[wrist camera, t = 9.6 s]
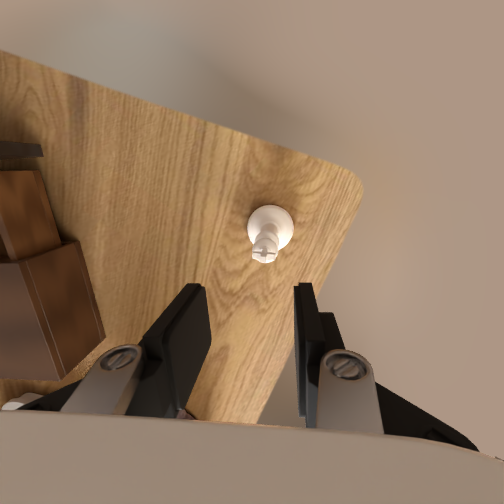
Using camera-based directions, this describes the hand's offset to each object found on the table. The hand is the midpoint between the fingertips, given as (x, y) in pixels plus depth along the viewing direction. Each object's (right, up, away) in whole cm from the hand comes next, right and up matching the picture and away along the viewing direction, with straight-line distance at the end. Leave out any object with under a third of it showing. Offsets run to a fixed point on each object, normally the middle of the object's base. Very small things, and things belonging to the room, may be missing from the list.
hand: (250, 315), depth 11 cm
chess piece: (+2, +5, +17) cm, 17 cm away
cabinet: (-26, -3, +22) cm, 35 cm away
